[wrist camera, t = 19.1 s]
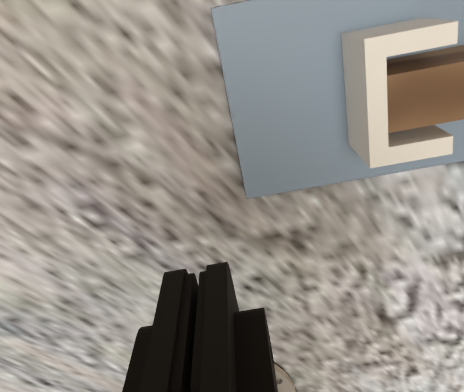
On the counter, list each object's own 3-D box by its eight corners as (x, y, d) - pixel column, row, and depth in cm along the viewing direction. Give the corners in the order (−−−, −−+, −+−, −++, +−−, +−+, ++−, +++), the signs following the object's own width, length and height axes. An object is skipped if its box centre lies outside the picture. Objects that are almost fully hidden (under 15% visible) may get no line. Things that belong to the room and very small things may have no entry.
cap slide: (418, 131, 31) (452, 153, 26) (348, 144, 31) (370, 168, 27) (419, 17, 28) (458, 21, 23) (341, 33, 28) (364, 39, 23)
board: (587, 133, 32) (598, 137, 32) (245, 193, 34) (246, 198, 33) (626, -76, 27) (640, -79, 26) (211, 8, 28) (210, 8, 27)
